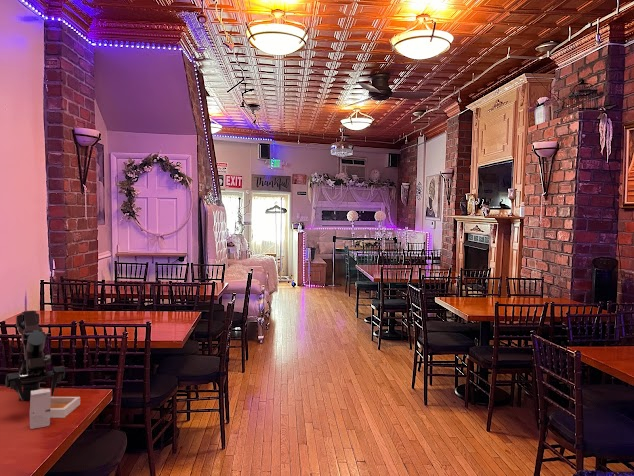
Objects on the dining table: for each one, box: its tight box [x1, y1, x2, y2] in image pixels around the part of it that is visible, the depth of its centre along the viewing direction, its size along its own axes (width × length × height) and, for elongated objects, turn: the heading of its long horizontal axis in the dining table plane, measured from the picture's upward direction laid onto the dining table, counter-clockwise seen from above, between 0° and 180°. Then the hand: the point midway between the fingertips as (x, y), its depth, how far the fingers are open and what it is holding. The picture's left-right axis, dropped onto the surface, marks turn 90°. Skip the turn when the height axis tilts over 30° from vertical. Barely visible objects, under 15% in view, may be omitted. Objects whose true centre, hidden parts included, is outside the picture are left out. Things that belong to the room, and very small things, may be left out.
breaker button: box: [50, 403, 67, 408], centre depth 176 cm, size 8×8×1 cm
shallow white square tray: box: [50, 396, 81, 419], centre depth 176 cm, size 12×12×3 cm
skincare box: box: [29, 387, 52, 430], centre depth 163 cm, size 6×4×12 cm
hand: (37, 397), depth 168 cm, fingers open, 9 cm apart
